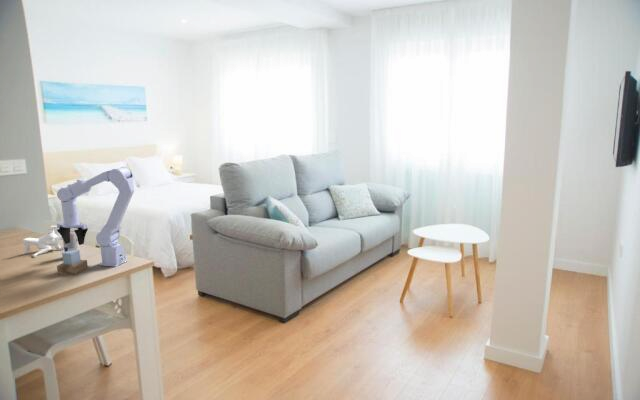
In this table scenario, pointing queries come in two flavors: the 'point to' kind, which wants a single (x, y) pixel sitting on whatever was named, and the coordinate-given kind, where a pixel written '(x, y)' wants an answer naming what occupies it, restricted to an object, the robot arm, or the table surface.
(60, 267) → the walnut block
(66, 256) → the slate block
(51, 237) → the person figurine
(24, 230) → the table surface
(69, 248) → the energy drink
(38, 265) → the table surface
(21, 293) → the table surface
